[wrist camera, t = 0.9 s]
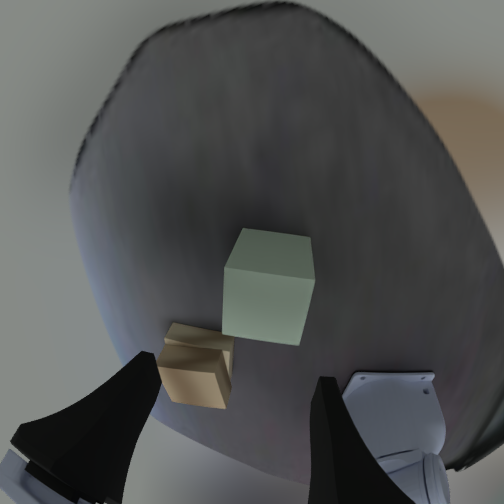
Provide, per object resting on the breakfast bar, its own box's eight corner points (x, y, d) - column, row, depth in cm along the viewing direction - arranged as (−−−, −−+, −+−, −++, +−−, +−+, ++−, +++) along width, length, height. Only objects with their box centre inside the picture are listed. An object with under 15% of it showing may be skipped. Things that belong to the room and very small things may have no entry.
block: (310, 236, 18) (315, 280, 14) (299, 293, 20) (298, 345, 16) (242, 227, 19) (224, 267, 14) (238, 284, 21) (222, 334, 16)
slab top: (222, 349, 21) (214, 373, 19) (231, 386, 23) (226, 408, 21) (165, 344, 22) (154, 365, 20) (180, 381, 24) (172, 401, 22)
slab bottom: (235, 331, 23) (229, 351, 21) (232, 371, 26) (227, 390, 24) (174, 319, 24) (164, 338, 22) (179, 360, 26) (171, 378, 24)
